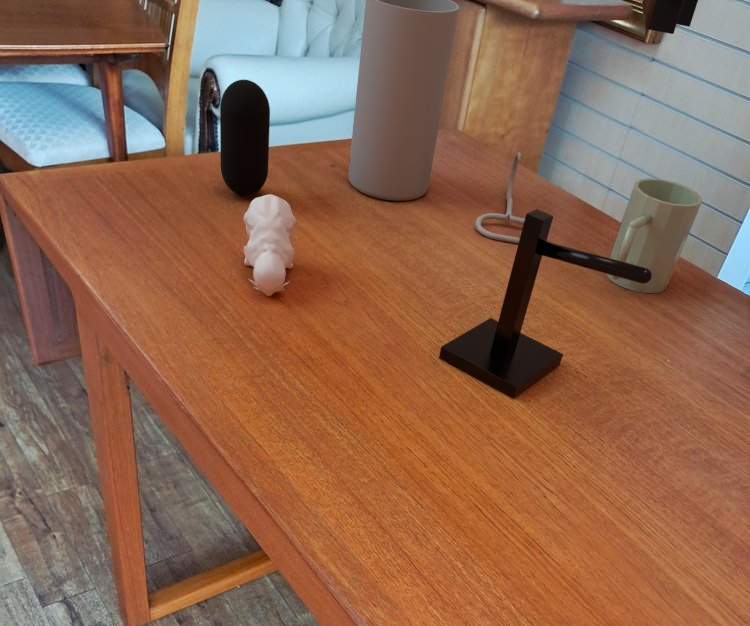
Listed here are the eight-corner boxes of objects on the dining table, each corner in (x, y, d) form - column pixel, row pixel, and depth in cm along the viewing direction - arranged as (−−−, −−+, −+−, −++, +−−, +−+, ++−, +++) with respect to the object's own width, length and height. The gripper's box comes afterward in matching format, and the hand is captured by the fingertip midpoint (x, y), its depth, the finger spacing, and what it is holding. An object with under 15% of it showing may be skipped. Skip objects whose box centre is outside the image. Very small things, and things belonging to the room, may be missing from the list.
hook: (538, 192, 127) (533, 262, 114) (480, 181, 127) (469, 251, 115) (550, 147, 121) (547, 217, 109) (490, 137, 122) (480, 204, 109)
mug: (622, 257, 114) (652, 173, 106) (676, 281, 110) (712, 196, 102) (578, 284, 106) (606, 195, 98) (635, 310, 102) (670, 220, 94)
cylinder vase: (331, 178, 122) (347, -11, 105) (389, 165, 129) (413, -14, 112) (386, 208, 116) (412, 14, 99) (443, 194, 123) (478, 9, 106)
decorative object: (259, 183, 117) (261, 73, 107) (273, 202, 113) (277, 88, 102) (215, 185, 114) (214, 72, 104) (228, 204, 110) (228, 88, 100)
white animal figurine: (297, 190, 95) (300, 244, 87) (293, 253, 101) (295, 309, 93) (244, 185, 94) (241, 239, 86) (243, 250, 100) (241, 305, 92)
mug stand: (438, 358, 88) (469, 208, 76) (488, 328, 94) (524, 186, 82) (575, 432, 80) (632, 279, 69) (619, 395, 87) (678, 249, 75)
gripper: (719, -206, 87) (654, 16, 100) (690, -252, 69) (615, 28, 82) (789, -199, 85) (714, 27, 98) (780, -245, 67) (688, 41, 79)
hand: (669, 28), depth 90 cm, fingers open, 13 cm apart
